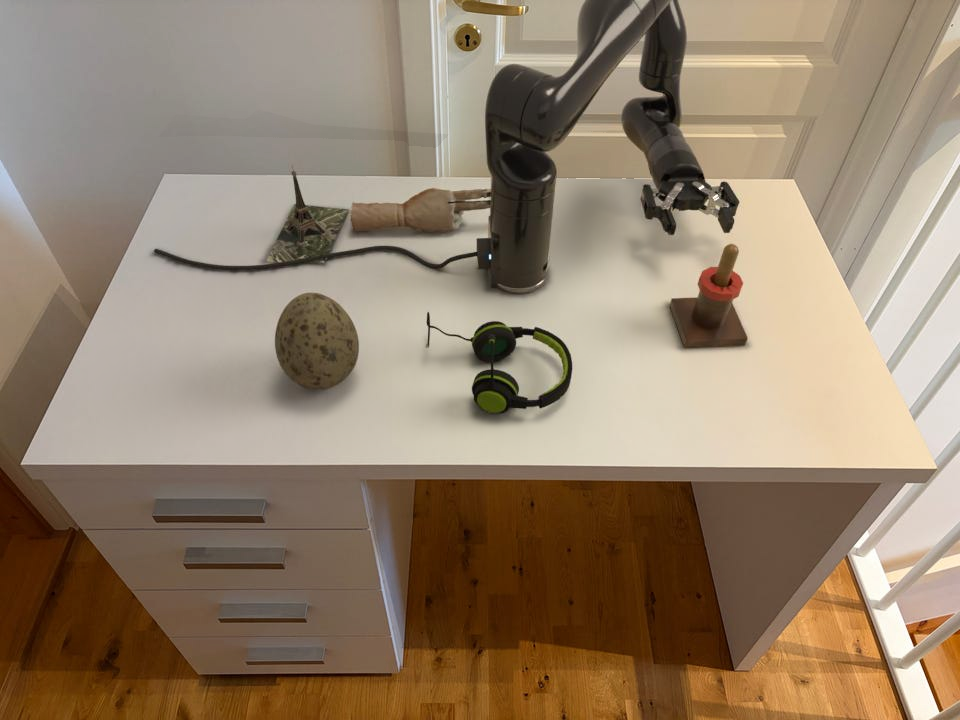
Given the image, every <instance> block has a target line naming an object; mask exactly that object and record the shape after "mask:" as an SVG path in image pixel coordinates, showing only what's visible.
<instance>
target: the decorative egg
mask: <svg viewBox="0 0 960 720" xmlns="http://www.w3.org/2000/svg"><path fill="white" fill-rule="evenodd" d="M274 333H275V334H274V349H275V355H276V359H277V361H278V363H279V366H280V368H281V370H282V371H283V373H284V374H285V375H286V376H287V377H288V378H289V379H290V380H291V381H292V382H294V384H296V385H299V386H301V387H303V388H306V389H309V390H314V391H315V390H317V391H320V390H321V391H322V390H328V389H331V388H334V387H336V386H338V385H340V384H341V383H342V382H344V381H345V380H346V379H347V378H348V377H349V376H350V375H351V373H352V372H353V371H354V369H355V367H356V365H357V361H358V359H359V353H360V342H359V341H360V340H359V335H358V331H357V327H356V326H355V324H354V322H353V320H352V318H351V317H350V315H349V314H348V312H347V311H346V310H345V308H343V306H342V305H340V304H339V303H338V302H337V301H336V300H334V299H332V298H330V297H329V296H327V295H325V294H322V293H319V292H304V293H301V294H299V295H297V296H295V297H294V298H293V299H291V300H290V301H289V302H288V303H287V304H286V306H285V307H284V309H283V310H282V312H281V314H280V315H279V318H278V320H277V324H276V327H275V332H274Z"/></svg>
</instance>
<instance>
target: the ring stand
mask: <svg viewBox="0 0 960 720" xmlns="http://www.w3.org/2000/svg"><path fill="white" fill-rule="evenodd" d="M739 253H740V249H739V246H738V245H736V244H734V243H729V244H727V245H725V246H724V248H723V250H722V253H721V256H720V260H719V262H718V265H717V267H718V268H717V271H716V274H715V277H714V280H713V281H711V282H712V283H713V284H714V285H715V286H718V287H729V285H728V282H729V279H730V276H731V274H732V271H734V268H735V265H736V262H737V259H738V256H739ZM733 301H734V299H733V300H731V301H717V300H713V299H710V298H708V297H707V296H705V295H704V294H703V293H702V292H700V290H699V291H698V295H697V297H675V298H671V299H670V302H669V308H670V311H671V313H672V317H673V319H674V323H675V325H676V327H677V331H678V334H679V336H680V339H681V342H682V345H683V347H684V348H685V349H689V348H690V349H691V348H713V347H734V346H737V347H738V346H746V344H747V341H748V339H749V338H748V335H747V333H746V330H745V328H744V326H743V323H742V322H741V319H740V317H739V315H738V312H737V310H736V308H735V306H734V304H733Z"/></svg>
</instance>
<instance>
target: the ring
mask: <svg viewBox="0 0 960 720" xmlns="http://www.w3.org/2000/svg"><path fill="white" fill-rule="evenodd" d="M717 268H718V266H709V267H708V268H706V269H703V270H702V271H701V273H700V276H699V277H698V281H697V287H698V289H699V291H700V292H702V293H703V294H704V295H705V296H707V297H708V298H710V299H713V300H717V301H731V300H733V301H734V300H735V299H737V298H738V297H739V296H740V293H741V291H742V288H743V285H744V281H743V280H742V277H741V276H740V275H739V273H737V272H735V270H733V271H732V274H731V276H730V279H729V282H728V285H729V287H718V286H715V285H714V284H713V283H712V282H711V281H713V280H714V277H715V274H716V271H717Z"/></svg>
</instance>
